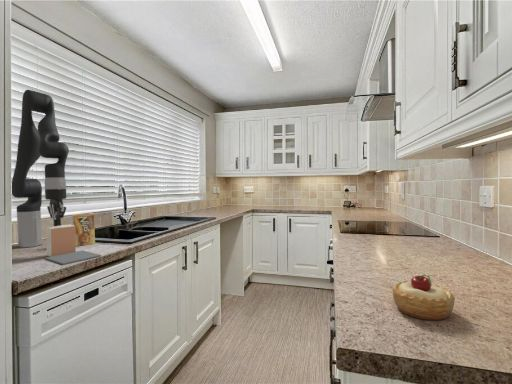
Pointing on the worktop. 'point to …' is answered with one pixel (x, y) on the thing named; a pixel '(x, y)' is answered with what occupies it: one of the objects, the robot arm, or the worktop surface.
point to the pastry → (423, 299)
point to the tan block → (61, 239)
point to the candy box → (84, 229)
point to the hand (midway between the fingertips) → (57, 227)
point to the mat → (72, 257)
